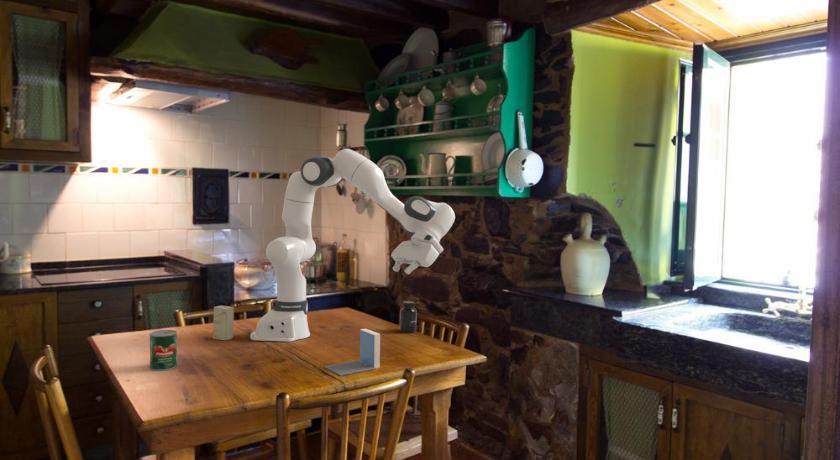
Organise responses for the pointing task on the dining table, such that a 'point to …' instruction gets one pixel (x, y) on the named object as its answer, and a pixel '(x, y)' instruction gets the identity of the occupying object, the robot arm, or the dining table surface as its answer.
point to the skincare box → (223, 322)
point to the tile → (370, 348)
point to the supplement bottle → (408, 317)
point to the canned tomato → (163, 350)
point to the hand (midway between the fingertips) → (400, 271)
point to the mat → (348, 368)
